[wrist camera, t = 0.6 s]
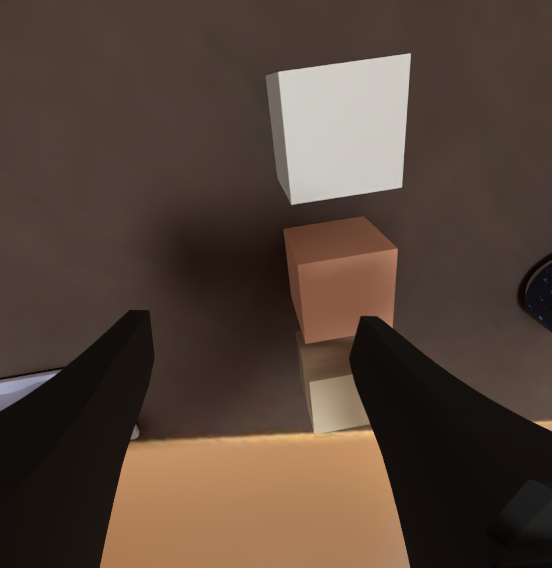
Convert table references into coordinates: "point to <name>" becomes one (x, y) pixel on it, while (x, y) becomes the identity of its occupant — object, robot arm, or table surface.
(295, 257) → the terracotta block
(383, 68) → the light grey block
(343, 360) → the birch block
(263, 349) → the table surface
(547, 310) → the beverage can
